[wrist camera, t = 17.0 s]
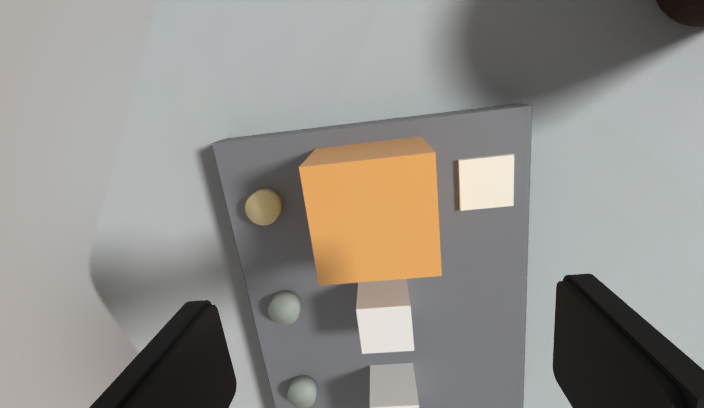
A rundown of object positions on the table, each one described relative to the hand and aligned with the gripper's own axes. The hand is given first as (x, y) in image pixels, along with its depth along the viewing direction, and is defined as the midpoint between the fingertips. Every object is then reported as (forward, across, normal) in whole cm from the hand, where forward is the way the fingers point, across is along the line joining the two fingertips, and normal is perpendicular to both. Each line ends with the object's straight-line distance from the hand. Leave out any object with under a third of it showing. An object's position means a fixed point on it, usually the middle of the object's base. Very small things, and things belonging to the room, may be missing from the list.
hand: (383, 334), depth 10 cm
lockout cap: (+12, 0, -1) cm, 12 cm away
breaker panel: (+14, 0, +6) cm, 16 cm away
